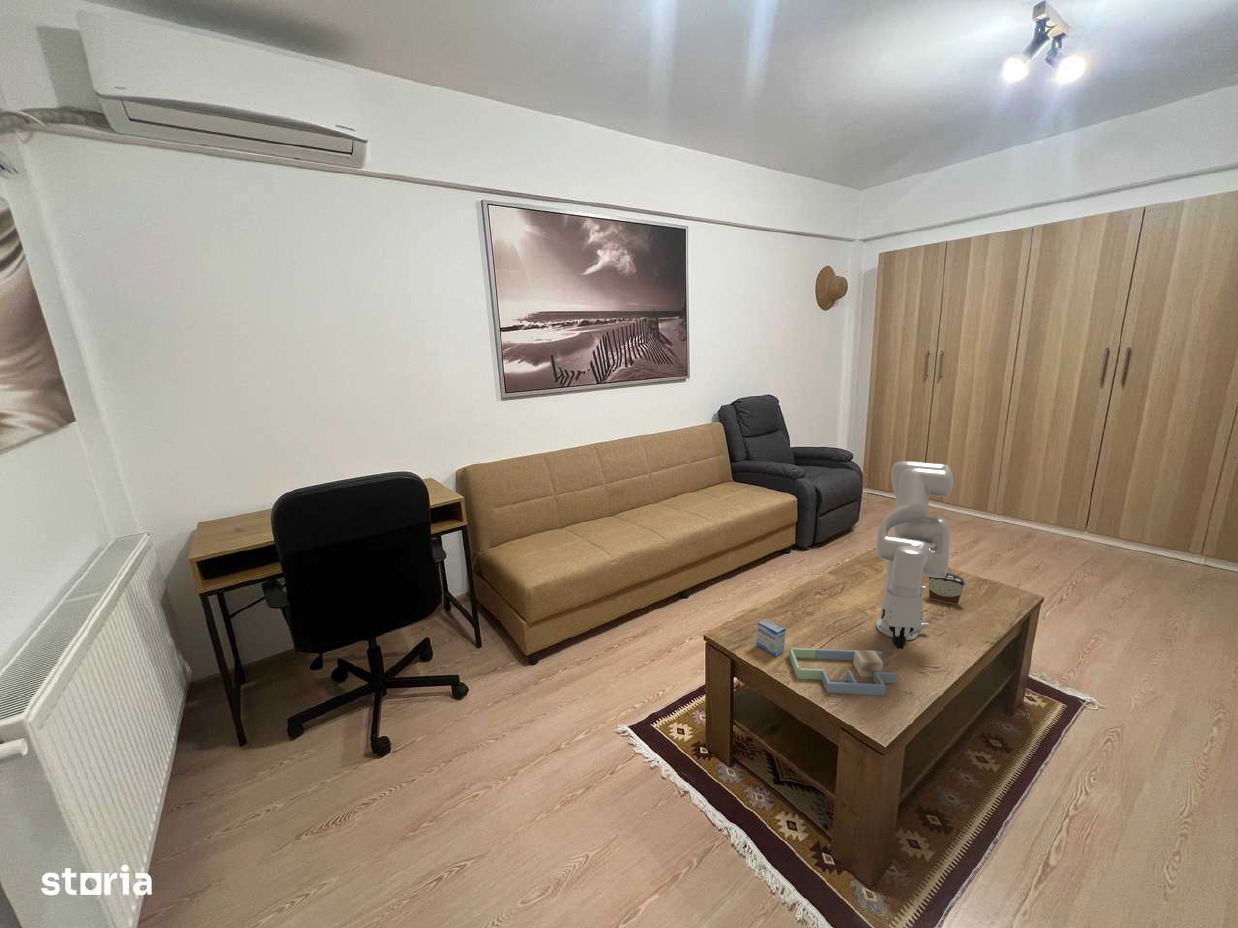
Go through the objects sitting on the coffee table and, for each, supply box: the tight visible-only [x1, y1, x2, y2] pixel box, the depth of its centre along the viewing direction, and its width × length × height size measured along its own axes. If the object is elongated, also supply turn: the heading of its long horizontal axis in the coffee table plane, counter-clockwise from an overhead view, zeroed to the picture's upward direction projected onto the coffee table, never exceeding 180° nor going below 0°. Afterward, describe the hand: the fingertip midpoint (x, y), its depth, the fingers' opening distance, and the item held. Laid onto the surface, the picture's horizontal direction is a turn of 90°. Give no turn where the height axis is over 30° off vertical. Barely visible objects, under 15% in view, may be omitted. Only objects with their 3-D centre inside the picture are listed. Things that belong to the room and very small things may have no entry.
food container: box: [926, 571, 967, 606], centre depth 188 cm, size 12×6×10 cm, turn 58°
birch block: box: [852, 649, 884, 678], centre depth 149 cm, size 6×6×5 cm
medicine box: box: [755, 618, 787, 657], centre depth 160 cm, size 8×4×9 cm, turn 37°
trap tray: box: [788, 647, 898, 696], centre depth 147 cm, size 28×17×3 cm, turn 84°
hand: (898, 646), depth 145 cm, fingers closed
